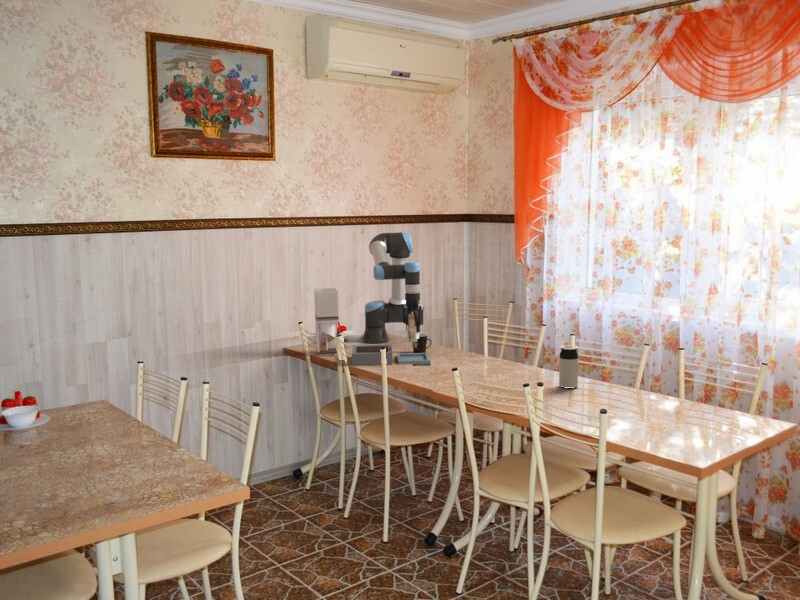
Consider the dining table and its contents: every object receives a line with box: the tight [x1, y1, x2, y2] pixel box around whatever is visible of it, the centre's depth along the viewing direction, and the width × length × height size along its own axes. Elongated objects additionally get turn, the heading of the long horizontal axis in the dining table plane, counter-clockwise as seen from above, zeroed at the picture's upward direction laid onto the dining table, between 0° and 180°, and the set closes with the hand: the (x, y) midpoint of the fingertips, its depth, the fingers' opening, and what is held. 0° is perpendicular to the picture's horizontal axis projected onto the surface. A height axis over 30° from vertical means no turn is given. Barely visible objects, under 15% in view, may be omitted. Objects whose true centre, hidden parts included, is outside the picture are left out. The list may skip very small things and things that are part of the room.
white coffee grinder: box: [313, 287, 339, 357], centre depth 405 cm, size 11×11×35 cm
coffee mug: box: [411, 333, 432, 353], centre depth 402 cm, size 12×9×10 cm
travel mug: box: [558, 344, 579, 388], centre depth 330 cm, size 8×8×18 cm
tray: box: [396, 352, 431, 367], centre depth 385 cm, size 18×16×2 cm
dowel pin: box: [408, 312, 418, 343], centre depth 382 cm, size 4×4×14 cm
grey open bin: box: [351, 344, 393, 367], centre depth 384 cm, size 20×20×7 cm
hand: (413, 337), depth 383 cm, fingers closed on dowel pin, 4 cm apart
